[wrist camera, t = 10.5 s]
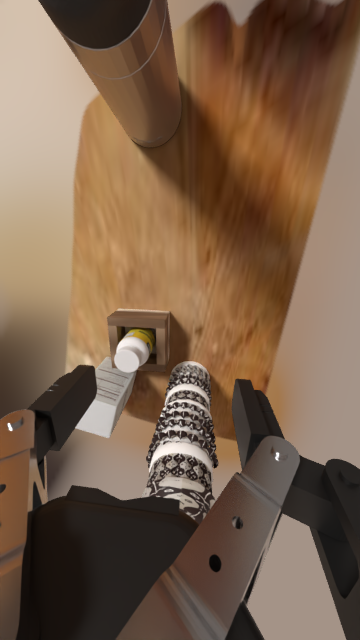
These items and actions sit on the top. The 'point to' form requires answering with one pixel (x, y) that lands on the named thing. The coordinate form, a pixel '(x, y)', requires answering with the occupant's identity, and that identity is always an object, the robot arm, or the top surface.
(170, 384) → the decorative candle
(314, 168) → the top surface
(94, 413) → the supplement box
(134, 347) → the supplement bottle
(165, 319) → the socket block
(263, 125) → the top surface
